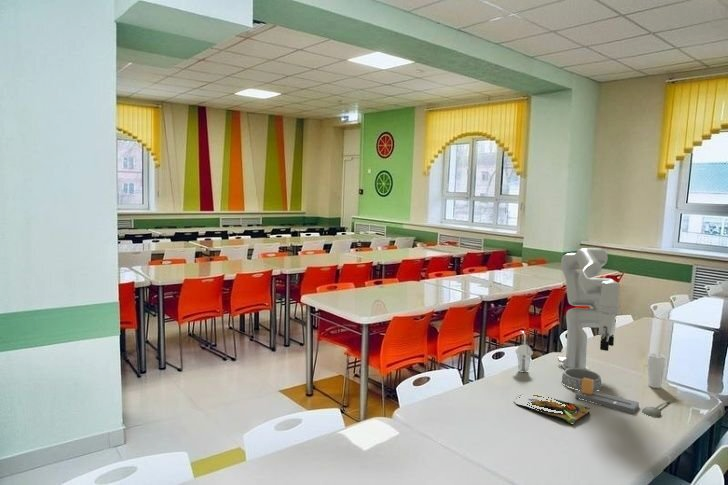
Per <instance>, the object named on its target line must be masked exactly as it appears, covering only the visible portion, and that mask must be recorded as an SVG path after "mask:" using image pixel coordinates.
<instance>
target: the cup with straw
mask: <svg viewBox="0 0 728 485" xmlns="http://www.w3.org/2000/svg"><path fill="white" fill-rule="evenodd" d="M520 333H522V335H523V337H524V338H523V344H520V345H519V346H517V348H516V350H515V351H514V352H515V354H516V356H517V357H516V358H517V366H518V371H519V370H520V371H523V372H527V371H528V372H529V369H530V368H529V367H530V363H531V358H532V356H533V354H534V352H533V351H532V349H531V347H530V346H529V345H527V344H526V342H527V340H526V339H527V338H526V337H527V336H526V334H525V332H524V331H523V330H520Z"/></svg>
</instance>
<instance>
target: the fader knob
mask: <svg viewBox="0 0 728 485" xmlns="http://www.w3.org/2000/svg"><path fill="white" fill-rule="evenodd" d="M593 387H594V380H593V379H589V378H585V377H584V378H583V379H582V393H586V394H590V395H591V394H592V393H593Z"/></svg>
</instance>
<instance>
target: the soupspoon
mask: <svg viewBox="0 0 728 485" xmlns="http://www.w3.org/2000/svg"><path fill="white" fill-rule="evenodd" d="M672 402H673V401H672V400H671V399H666V401H664V402H662V403H660V404H658V405H657V406H655V407H654V406H645V407H643V409H642V410H641V411H642V414H643V413H644V414H643V415H645V414H646V415H645V416H647V415H648V416H647V417H650V416H651V418H656V417H657V418H658V417H659V416H661V414H662V410H660V409H659V408H660V407H662V406H663V405H666V404H672Z"/></svg>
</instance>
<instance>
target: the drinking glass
mask: <svg viewBox="0 0 728 485" xmlns="http://www.w3.org/2000/svg"><path fill="white" fill-rule="evenodd" d="M665 365H666V357H665V355H663V354H661V353H651V352H650V353H648V358H647V372H648V373H647V374H648V375H647V376H648V378H647V379H648V384H647V385H648V386H649V387H650V388H653V389H660V388H662V384H663V383H662V382H663V378H664V371H665Z"/></svg>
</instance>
